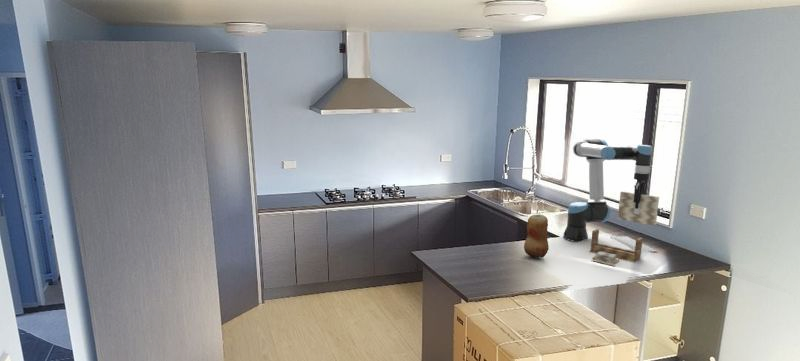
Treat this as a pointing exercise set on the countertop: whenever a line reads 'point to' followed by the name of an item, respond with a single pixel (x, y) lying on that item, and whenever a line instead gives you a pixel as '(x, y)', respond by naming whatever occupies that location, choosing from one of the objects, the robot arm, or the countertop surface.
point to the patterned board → (646, 208)
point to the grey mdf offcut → (606, 256)
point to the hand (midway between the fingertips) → (637, 213)
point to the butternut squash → (536, 236)
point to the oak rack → (616, 249)
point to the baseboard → (632, 243)
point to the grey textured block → (606, 261)
